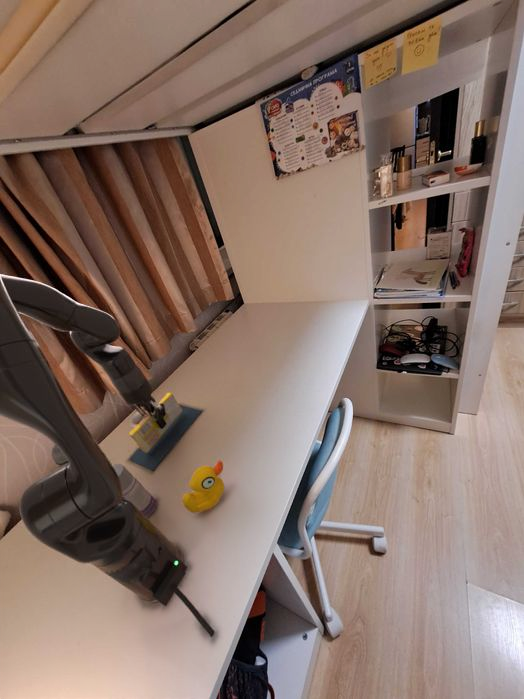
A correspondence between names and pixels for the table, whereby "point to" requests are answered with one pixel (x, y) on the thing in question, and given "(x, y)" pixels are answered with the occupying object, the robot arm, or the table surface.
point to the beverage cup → (59, 456)
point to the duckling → (204, 488)
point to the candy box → (155, 424)
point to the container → (135, 491)
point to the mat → (166, 439)
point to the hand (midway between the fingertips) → (160, 425)
